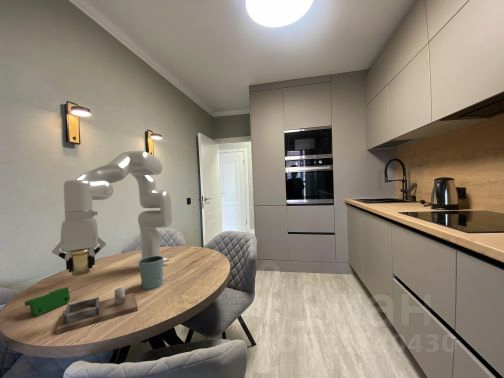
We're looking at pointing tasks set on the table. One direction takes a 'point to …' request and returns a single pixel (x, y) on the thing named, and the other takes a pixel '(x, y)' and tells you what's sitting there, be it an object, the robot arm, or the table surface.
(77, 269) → the brass door knob
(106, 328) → the table surface
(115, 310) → the fitting board
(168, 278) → the table surface
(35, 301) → the clamp
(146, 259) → the grey-green cup
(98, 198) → the robot arm
